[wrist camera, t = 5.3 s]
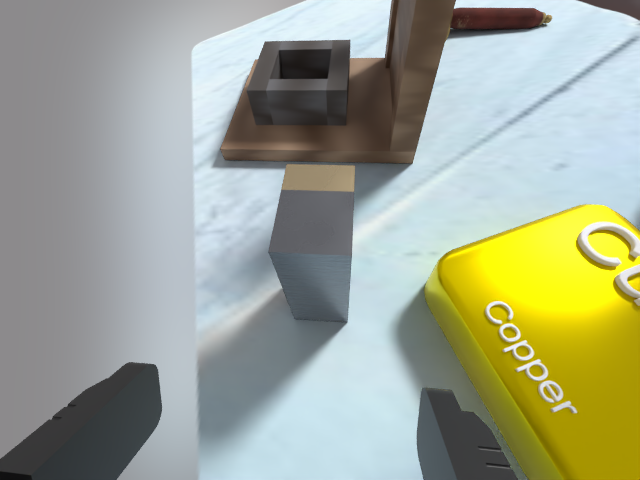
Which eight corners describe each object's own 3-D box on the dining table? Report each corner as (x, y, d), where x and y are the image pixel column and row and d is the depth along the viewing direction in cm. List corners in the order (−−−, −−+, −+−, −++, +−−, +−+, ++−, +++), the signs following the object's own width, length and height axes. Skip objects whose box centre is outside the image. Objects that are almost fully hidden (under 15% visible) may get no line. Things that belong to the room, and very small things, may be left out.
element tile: (412, 283, 24) (427, 253, 20) (567, 228, 26) (607, 190, 22) (547, 519, 17) (613, 546, 13) (753, 414, 19) (868, 408, 15)
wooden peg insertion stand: (402, 69, 41) (438, -147, 26) (412, 163, 31) (480, -93, 16) (257, 70, 43) (212, -129, 28) (224, 159, 33) (127, -73, 18)
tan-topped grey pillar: (350, 253, 26) (355, 165, 17) (347, 322, 23) (351, 255, 14) (303, 250, 26) (286, 164, 18) (294, 318, 23) (268, 251, 15)
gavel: (546, -14, 46) (578, 16, 40) (528, 21, 49) (555, 52, 44) (407, -15, 45) (421, 15, 40) (400, 20, 49) (411, 52, 44)
